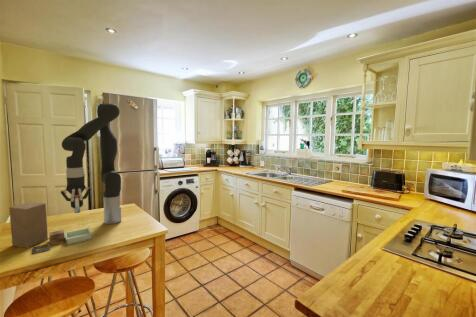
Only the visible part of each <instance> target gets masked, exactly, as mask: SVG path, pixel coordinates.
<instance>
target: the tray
mask: <svg viewBox="0 0 476 317" xmlns="http://www.w3.org/2000/svg"><path fill="white" fill-rule="evenodd" d="M64 239H65V244H66V246H68V245H69V246H70V245H74V244H78V243H82V242H85V241H89V240H93V236H92V231H91V229H90V227H85V228H80V229H75V230H72V231H71V230H70V231H66V232H65V231H64Z"/></svg>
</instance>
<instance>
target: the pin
mask: <svg viewBox="0 0 476 317" xmlns="http://www.w3.org/2000/svg"><path fill="white" fill-rule="evenodd" d="M73 210H74V214H79V213H81V207H80V197H79V194H76V195H74V208H73Z"/></svg>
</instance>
